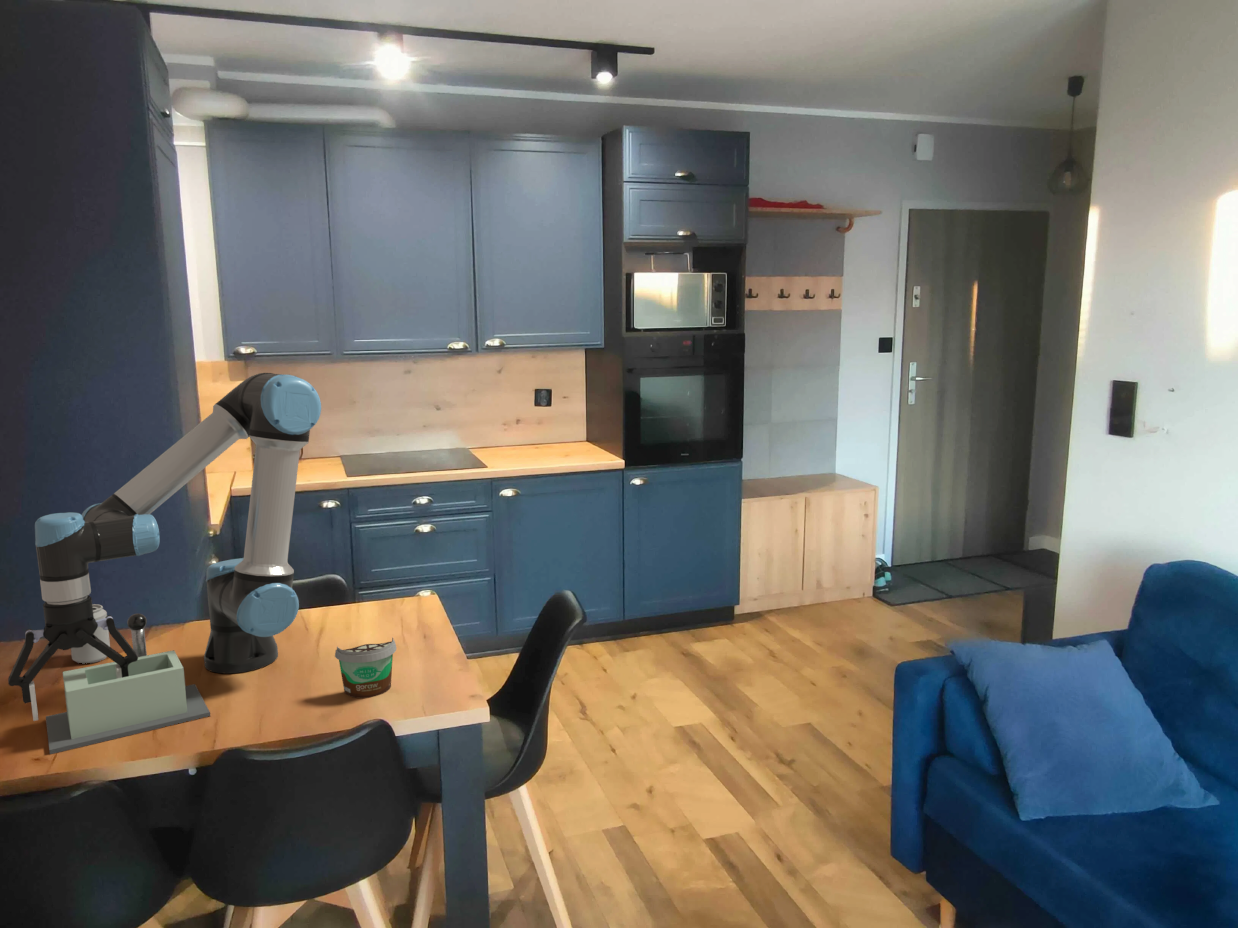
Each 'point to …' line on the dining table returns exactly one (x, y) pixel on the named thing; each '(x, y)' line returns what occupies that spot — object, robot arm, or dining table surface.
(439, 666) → the dining table surface
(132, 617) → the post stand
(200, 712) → the rubber mat
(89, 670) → the green slotted block
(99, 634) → the can
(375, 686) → the food container
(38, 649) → the dining table surface
